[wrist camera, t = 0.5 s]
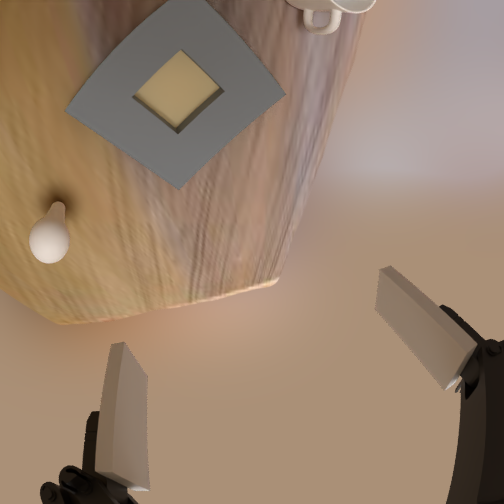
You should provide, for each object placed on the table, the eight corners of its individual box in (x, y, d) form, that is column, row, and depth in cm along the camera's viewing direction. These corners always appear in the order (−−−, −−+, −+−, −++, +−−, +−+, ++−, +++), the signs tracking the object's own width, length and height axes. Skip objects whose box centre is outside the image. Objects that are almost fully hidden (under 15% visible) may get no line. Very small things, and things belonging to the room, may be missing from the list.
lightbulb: (39, 190, 30) (19, 239, 23) (74, 186, 32) (61, 235, 25) (46, 222, 34) (32, 274, 27) (79, 219, 36) (71, 271, 29)
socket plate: (70, 105, 24) (64, 111, 22) (185, -11, 19) (189, -15, 17) (175, 179, 39) (178, 190, 37) (276, 89, 34) (286, 94, 32)
